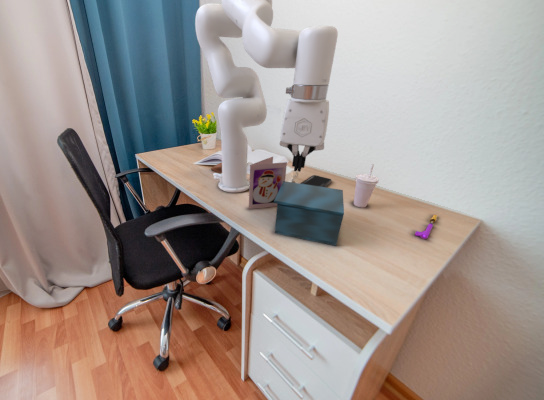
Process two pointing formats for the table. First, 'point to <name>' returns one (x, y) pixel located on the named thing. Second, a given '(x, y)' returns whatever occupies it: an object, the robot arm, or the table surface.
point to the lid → (311, 197)
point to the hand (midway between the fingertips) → (297, 169)
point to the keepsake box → (308, 224)
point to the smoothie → (364, 188)
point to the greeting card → (265, 182)
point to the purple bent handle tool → (427, 229)
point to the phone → (317, 181)
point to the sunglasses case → (217, 168)
